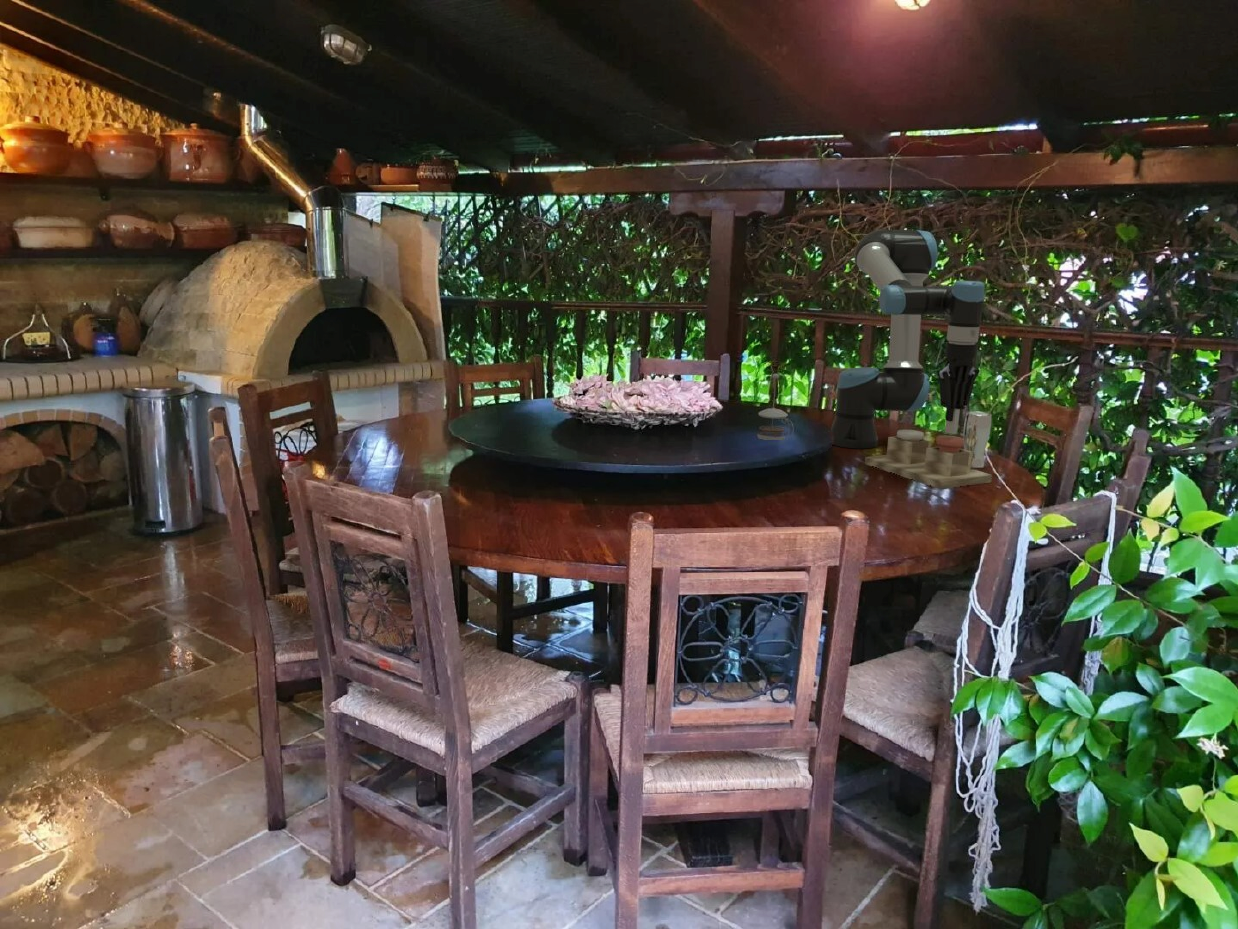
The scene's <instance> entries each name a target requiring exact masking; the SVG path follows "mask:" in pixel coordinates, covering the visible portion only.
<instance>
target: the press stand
mask: <svg viewBox="0 0 1238 929" xmlns="http://www.w3.org/2000/svg"><path fill="white" fill-rule="evenodd" d="M939 446H940V445H939ZM939 446H932V440H929V439H927V438H923V440H919V441H915V442H908V441H904V440H901V439H900V438H898V437H897V435H896V436H888V440H887V447H886V449H887V450H886V454H883V455H882V454H881V455H875V456H865V458H864V465H866V466H869V467H872V466H874V467H873V468H875V467H877V468H876V469H878V468H879V469H878V470H882V471H884V472H887V473H890V472H892V473H891V474H893V473H895V474H894V475H896V474H897V475H896V476H899V475H900V477H903V478H905V479H909V480H911V479H913V480H912V481H914V480H915V482H917V481H918V483H920V484H924V485H926V486H927V485H928V486H930V485H931V487H933V488H935V489H940V490H948V489H954V487H955V488H960V486H962V487H968V486H967V485H969V486H974V485H982V484H988V483H992V480H993V479H992V478H993V474H989V473H986V472H983V471H981V470H976V469H974V468H970V466H971V458H972V452H971V451H967V450H964V448H960V450H959V452H957V453H947V452H944V451H940V450H939ZM947 488H948V489H947Z"/></svg>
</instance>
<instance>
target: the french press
mask: <svg viewBox="0 0 1238 929" xmlns="http://www.w3.org/2000/svg"><path fill="white" fill-rule="evenodd" d="M771 378H772V379H774V386H776V383H777V382H776V380H777V379H779V378H780V374H779V373H773V374H772V375H771ZM773 391H774V392H773V400H775V396H776V387H774V390H773ZM772 403H773V405H772V407H771V408H765V409H762V410H760V411H759V412H758V416H759V417H761V418H766V419H772V421H771V422H772V423H771V425H761V426H759V427H758V429H759V430H760V431H758V432H757V437H758V438H759V439H763V440H782V441H783V439H786V438H787V437H786V433H783V432H785V431H786V429H785V428H784V427H783V426H778V425H773V424H774V419H776V420H777V419H781V423H782V424H786V423H788V424H787V425H788V434H787V436H788V437H789V436H790V432H791V436H792V437H793V436H794V424H793V422H792V421H791V419H789V418H788V416H789V415H788V413H787V412H785V411H784V410H782V409H778V408H775V402H772ZM783 420H784V421H783ZM790 424H791V425H790ZM791 427H792V430H791ZM768 435H769V436H768ZM774 436H780V437H774Z"/></svg>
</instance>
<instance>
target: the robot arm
mask: <svg viewBox="0 0 1238 929" xmlns="http://www.w3.org/2000/svg"><path fill="white" fill-rule="evenodd" d="M937 244H938V243H937V241H936V238H935V237H934V234H932V233H931V232H929V231H926V230H918V229H877V230H874V231H871V232H869V233H867V234H865V235H864V236H863V237H862V238H861V239H860V240H859V241H858V243H857V245H856V246H855V249H854V255H853V257H854V262H855V264H856V266H857V267H858V269H859V271H861V272H862V273H865V274H866V275H868V277H869V278H870V280H871V281H872V283H873V284H874V286H875V287H876V289H877V290H878V292H879V296H878V305H879V310H880V312H881V313H882V314H885V315H890V316H891V317H890V333H889V334H890V335H889V349H888V350H889V351H888V361H887V362H886V364H885V365H883V368H882V372H880V370H879V368H877V367H874V366H873V367H871V366H869V367H866V366H861V367H860V366H859V367H853V368H847V369H844V370H842V371H841V372H840V373H839V375H838V381H837V385H836V387H837V391H836V393H837V394H836V403H835V404H836V405H835V416H834V420H833V422H832V424H831V427H830V430H831V432H832V433H833V435H834V445H833V446H836V447H841V448H848V449H871V448H872V449H874V448H876V447H877V446H878V443H879V436H878V434H877V430H876V429H877V428H876V423H875V413H876V412H877V411H878V412H879V411H881V412H884V411H885V412H903V413H904V412H905V413H906V412H916V411H919V410H920V409H922V408H923V406H924V405H925V403H926V401H927V399H928V396H929V392H930V384H931V383H930V377H929V375H928V374H927V373H925V372H924V367H923V366H922V365H921V364H920V362H919V357H920V356H919V354H920V353H919V352H920V338H921V337H920V336H921V320H922V316H941V317H942V316H945V317H949V318H948V326H947V334H946V341H948V342H947V343H946V344H945V350H944V351H945V352H944V356H945V357H946V362H945V364H944V368H942V369H941V370H940V369H939V370H937V371H936V374H937V377H938V381H939V396H940V397H939V398H940V406H941V407H943V408H946V411H945V427H944V432H945V433H947V434H949V435H957V434H958V428H959V421H960V420H961V413H962V410H965V409H966V407H967V406H968V405H969V402H970V399H971V396H972V392H973V389H974V386H975V382H976V379H977V377H978V375H979V374H980V369H977V368H975V367H974V362H973V361H974V360H975V359H976V358H977V353H978V345H977V343H978V342H979V335H980V326H981V322H982V321H981V320H982V315H983V314H982V313H983V306H984V300H985V289H986V288H985V287H986V286H985V283H984V282H983V281H976V280H956V281H955V282H953V285H943V286H942V285H941V286H936V285H935V286H933V285H932V286H930V285H924V284H923V283H924V281H925V280H926V279H927V278H929V276H930V274H929V272H930V271H933V270H934V269H935V268H936V266H937V261H938V254H939V253H938V246H937Z"/></svg>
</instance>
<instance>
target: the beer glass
mask: <svg viewBox="0 0 1238 929" xmlns="http://www.w3.org/2000/svg"><path fill="white" fill-rule="evenodd" d="M963 424H964V425H963V437H962V438H964V439H965V443H964V446H963V449H964V450H967V451H971V452H972V458H971V466H970V469H983V468H984V467H985V459H984V458H985V456H984V455H985V452H986V448H987V445H988V441H989V440H990V436H991V435H990V434H991V430H992V428H991V427H992V413H990V412H985V411H971V410H970V411H967V412H966V414H965V418H964V423H963Z"/></svg>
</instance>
